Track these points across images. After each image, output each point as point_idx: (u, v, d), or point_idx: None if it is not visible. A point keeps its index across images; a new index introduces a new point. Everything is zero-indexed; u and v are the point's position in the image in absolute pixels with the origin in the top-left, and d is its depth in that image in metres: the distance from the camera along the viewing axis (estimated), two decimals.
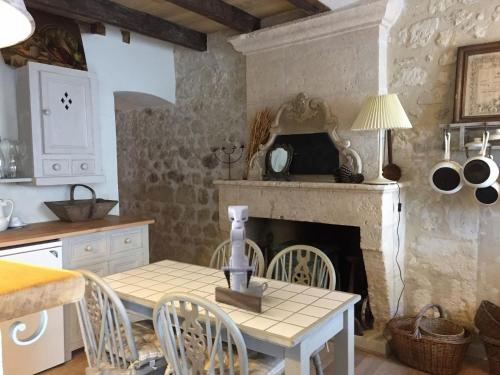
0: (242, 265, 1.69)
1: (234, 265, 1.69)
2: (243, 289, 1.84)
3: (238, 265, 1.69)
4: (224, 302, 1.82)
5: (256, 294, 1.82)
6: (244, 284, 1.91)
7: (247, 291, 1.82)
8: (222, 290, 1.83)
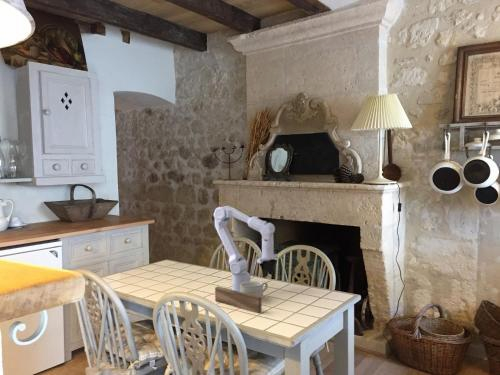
0: None
1: (269, 256, 1.92)
2: (243, 289, 1.84)
3: (272, 255, 1.94)
4: (224, 302, 1.82)
5: (256, 294, 1.82)
6: (244, 284, 1.91)
7: (247, 291, 1.82)
8: (222, 290, 1.83)
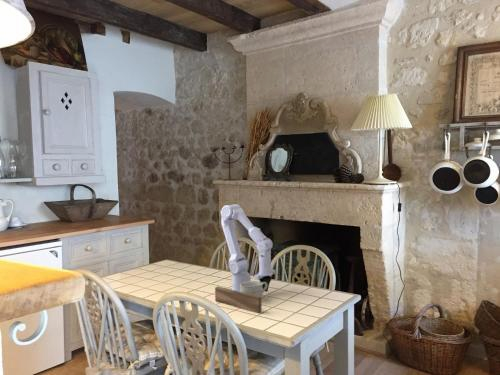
0: (270, 271, 1.94)
1: (266, 272, 1.91)
2: (243, 289, 1.83)
3: (269, 271, 1.92)
4: (224, 302, 1.82)
5: (256, 294, 1.82)
6: (244, 284, 1.91)
7: (247, 291, 1.82)
8: (222, 290, 1.83)
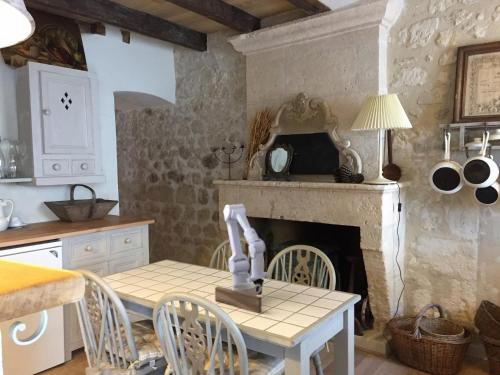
0: (263, 273, 1.89)
1: (259, 275, 1.86)
2: None
3: (262, 274, 1.87)
4: (224, 302, 1.82)
5: None
6: (237, 286, 1.87)
7: None
8: (222, 290, 1.83)
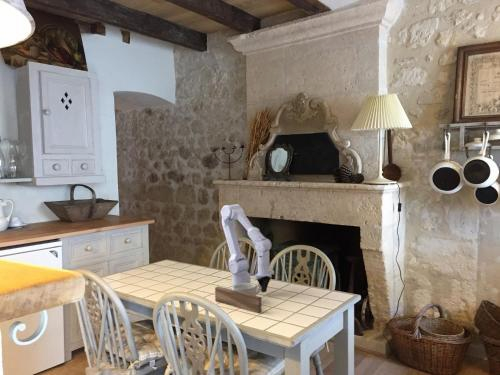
0: None
1: (265, 273, 1.90)
2: None
3: (268, 272, 1.91)
4: (224, 302, 1.82)
5: None
6: (237, 286, 1.87)
7: None
8: (222, 290, 1.83)
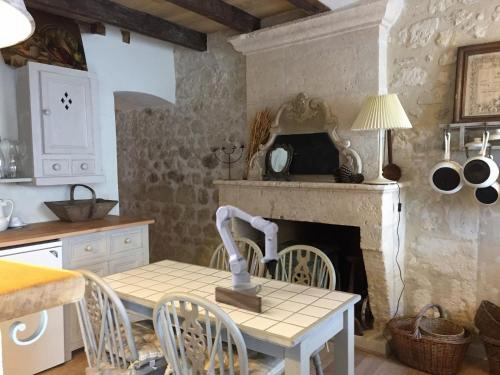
0: (276, 254, 1.96)
1: (273, 256, 1.93)
2: None
3: (276, 255, 1.94)
4: (224, 302, 1.82)
5: None
6: (237, 286, 1.87)
7: None
8: (222, 290, 1.83)
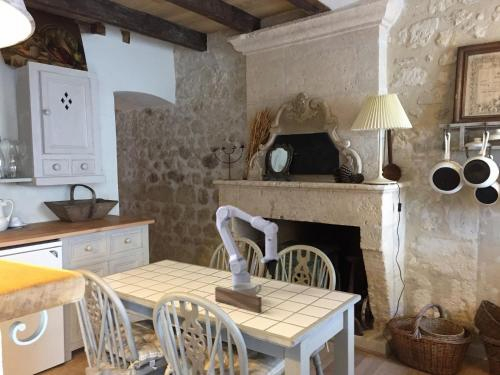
0: (276, 254, 1.96)
1: (273, 256, 1.93)
2: None
3: (276, 255, 1.94)
4: (224, 302, 1.82)
5: None
6: (237, 286, 1.87)
7: None
8: (222, 290, 1.83)
